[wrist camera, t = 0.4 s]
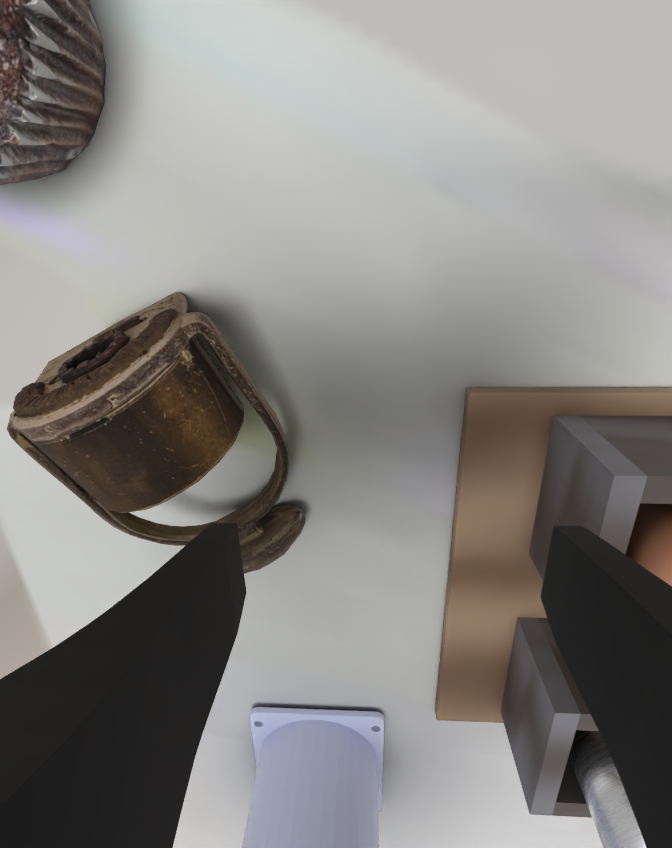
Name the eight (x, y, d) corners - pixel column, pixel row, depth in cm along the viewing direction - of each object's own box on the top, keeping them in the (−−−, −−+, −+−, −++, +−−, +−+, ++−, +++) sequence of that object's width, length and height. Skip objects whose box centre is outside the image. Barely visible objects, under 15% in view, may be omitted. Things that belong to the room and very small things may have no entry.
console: (682, 719, 26) (759, 838, 21) (435, 710, 27) (452, 822, 22) (819, 387, 19) (994, 449, 13) (466, 387, 19) (504, 446, 14)
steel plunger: (639, 760, 22) (712, 900, 18) (554, 756, 22) (603, 893, 18) (661, 703, 21) (747, 840, 16) (569, 700, 21) (627, 834, 16)
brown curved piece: (291, 284, 13) (-103, 313, 12) (326, 649, 17) (32, 702, 16) (279, 284, 20) (30, 303, 18) (306, 544, 24) (101, 575, 22)
